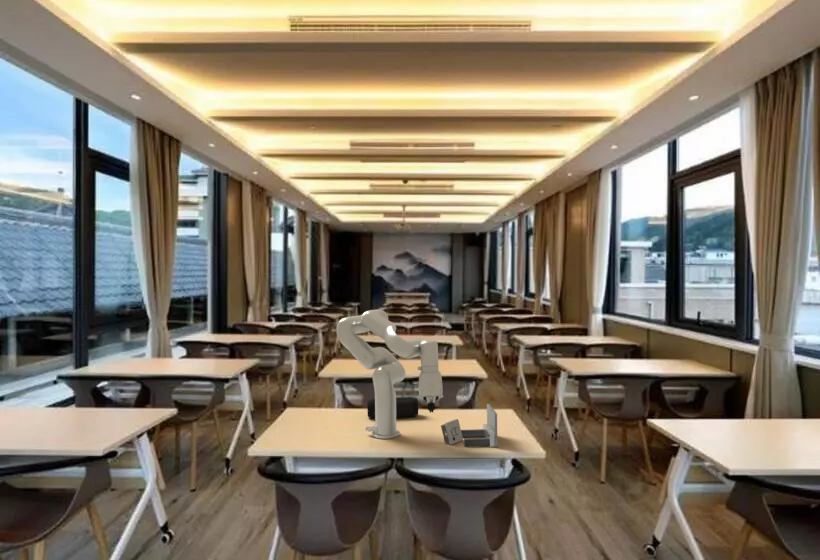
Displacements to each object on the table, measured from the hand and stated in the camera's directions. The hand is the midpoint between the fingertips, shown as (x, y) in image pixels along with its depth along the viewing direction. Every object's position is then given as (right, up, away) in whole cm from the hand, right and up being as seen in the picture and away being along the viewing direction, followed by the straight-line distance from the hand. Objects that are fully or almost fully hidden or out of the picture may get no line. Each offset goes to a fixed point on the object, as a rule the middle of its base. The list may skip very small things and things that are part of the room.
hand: (431, 411), depth 243 cm
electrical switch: (+9, -14, +1) cm, 16 cm away
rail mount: (+19, -13, +1) cm, 23 cm away
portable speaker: (-18, -14, +45) cm, 50 cm away
